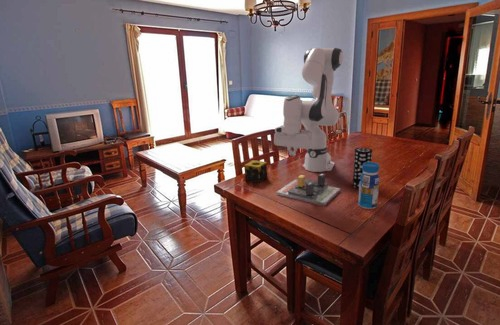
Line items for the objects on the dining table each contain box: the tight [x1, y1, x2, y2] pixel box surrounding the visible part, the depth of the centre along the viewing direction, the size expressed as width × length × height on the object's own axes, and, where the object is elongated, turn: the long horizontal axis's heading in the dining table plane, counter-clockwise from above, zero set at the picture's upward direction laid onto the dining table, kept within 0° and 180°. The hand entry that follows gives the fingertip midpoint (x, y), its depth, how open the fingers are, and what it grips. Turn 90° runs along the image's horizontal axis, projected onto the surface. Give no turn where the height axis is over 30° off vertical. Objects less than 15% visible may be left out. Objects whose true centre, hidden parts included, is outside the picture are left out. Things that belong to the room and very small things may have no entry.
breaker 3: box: [317, 173, 326, 185], centre depth 151 cm, size 4×2×5 cm
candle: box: [244, 159, 268, 184], centre depth 171 cm, size 10×10×10 cm
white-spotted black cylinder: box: [352, 147, 373, 190], centre depth 152 cm, size 8×8×20 cm
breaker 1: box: [297, 174, 306, 187], centre depth 151 cm, size 4×2×5 cm
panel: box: [276, 178, 341, 207], centre depth 150 cm, size 20×26×3 cm
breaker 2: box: [306, 182, 314, 195], centre depth 141 cm, size 4×2×5 cm
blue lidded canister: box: [357, 161, 381, 210], centre depth 130 cm, size 8×8×20 cm
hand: (292, 155), depth 149 cm, fingers closed
